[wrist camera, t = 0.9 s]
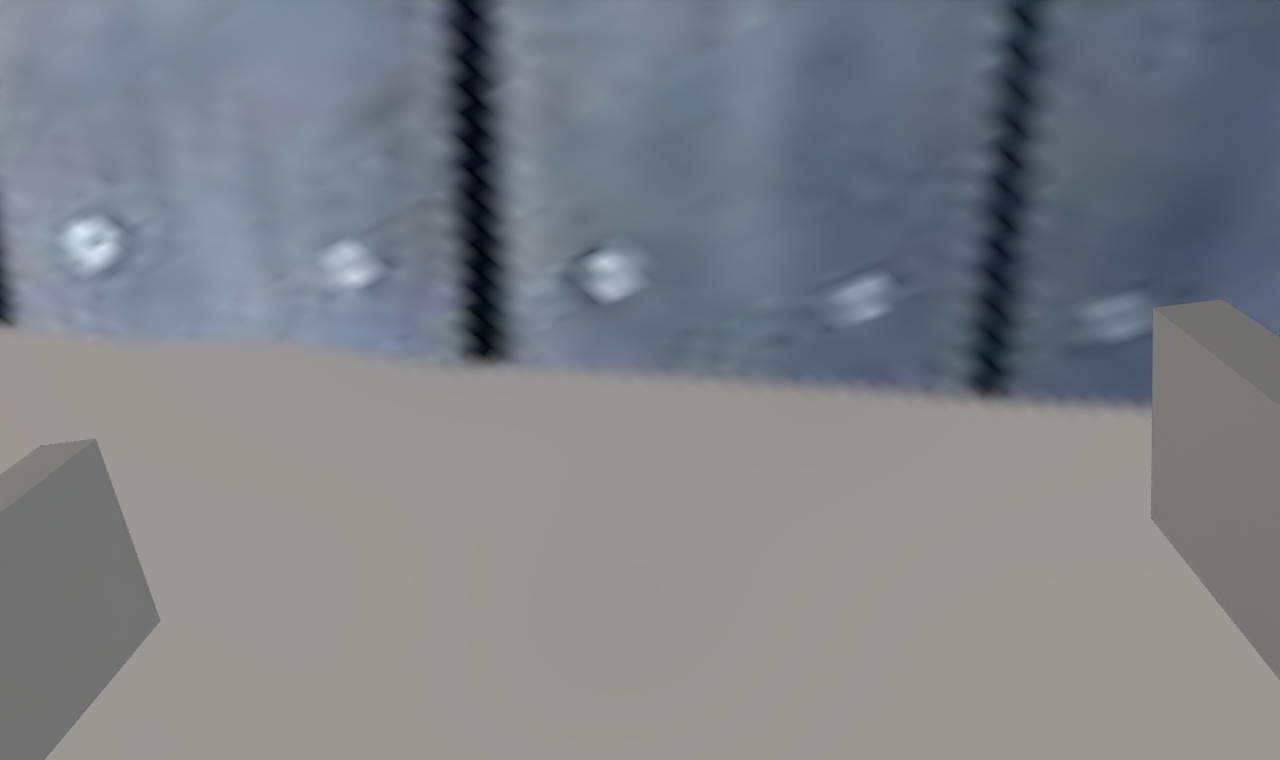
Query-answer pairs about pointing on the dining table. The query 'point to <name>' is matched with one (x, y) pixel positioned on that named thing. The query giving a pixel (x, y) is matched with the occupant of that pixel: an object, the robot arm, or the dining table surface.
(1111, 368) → the dining table surface
